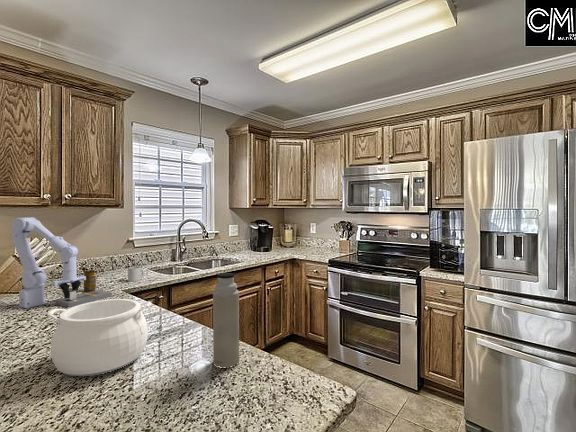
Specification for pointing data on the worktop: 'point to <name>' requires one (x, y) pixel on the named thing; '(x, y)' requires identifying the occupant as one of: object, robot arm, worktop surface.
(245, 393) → the worktop surface
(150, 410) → the worktop surface
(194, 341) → the worktop surface
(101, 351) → the pot
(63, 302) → the console board
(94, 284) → the condiment
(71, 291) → the fader tab
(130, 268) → the cup
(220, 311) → the thermos bottle
